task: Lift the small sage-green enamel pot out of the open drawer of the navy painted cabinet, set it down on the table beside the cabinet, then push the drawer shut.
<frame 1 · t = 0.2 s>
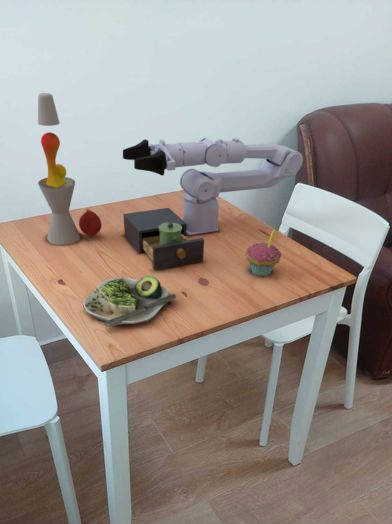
hand: (128, 159, 121), 21 cm above the table, tool horizontal, fingers open, 7 cm apart
cabinet: (155, 241, 134), on the table
cupcake: (260, 272, 123), on the table
drawer: (170, 245, 124), point 3 cm above the table, slide at 9.0 cm, touching pot
salad plate: (129, 304, 108), on the table
onion: (91, 237, 134), on the table
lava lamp: (64, 238, 133), on the table
pot: (170, 251, 126), point 2 cm above the table, touching drawer
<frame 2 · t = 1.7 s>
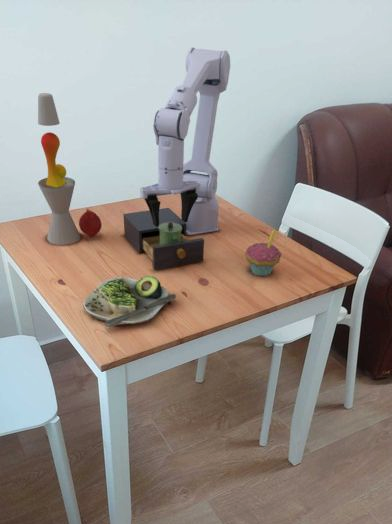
hand: (170, 222, 121), 9 cm above the table, tool pointing down, fingers open, 7 cm apart
nothing on the table moved.
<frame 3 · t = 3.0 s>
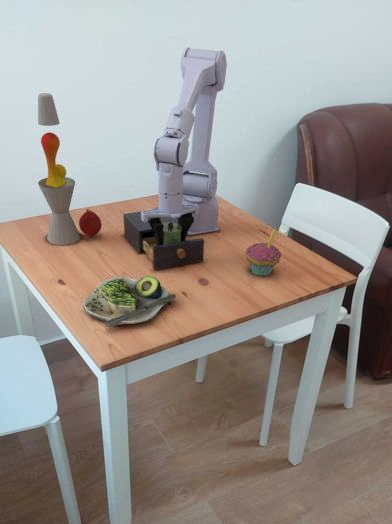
hand: (170, 244, 125), 4 cm above the table, tool pointing down, fingers closed on pot, 5 cm apart
pot: (170, 251, 126), point 2 cm above the table, touching drawer, gripper
everything else where it was.
when the fingers open (2 cm above the table, at t = 7.6 s): pot stays where it is, on the table.
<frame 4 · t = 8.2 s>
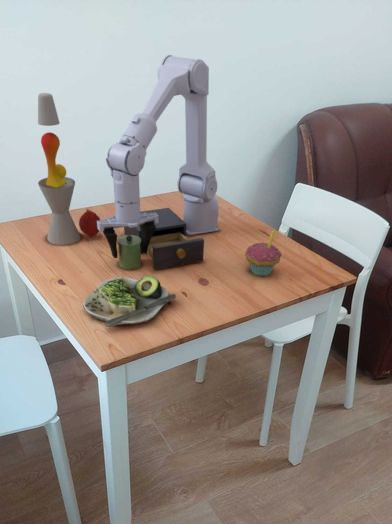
hand: (129, 253, 121), 3 cm above the table, tool pointing down, fingers open, 7 cm apart
drawer: (170, 245, 124), point 3 cm above the table, slide at 9.0 cm
pot: (130, 264, 123), on the table
everything else where it was.
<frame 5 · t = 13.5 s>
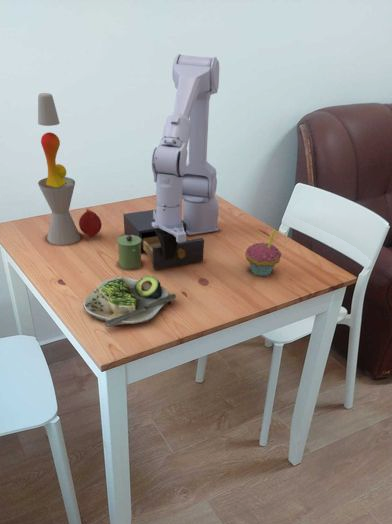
hand: (168, 258, 118), 4 cm above the table, tool pointing down, fingers closed
drawer: (170, 245, 124), point 3 cm above the table, slide at 9.0 cm, touching gripper
everything else where it was.
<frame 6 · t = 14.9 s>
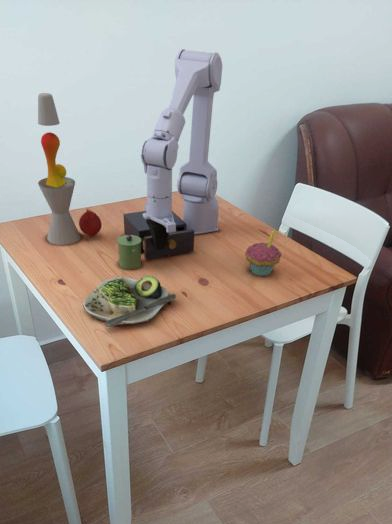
hand: (159, 248, 122), 4 cm above the table, tool pointing down, fingers closed
drawer: (162, 236, 128), point 3 cm above the table, slide at 3.4 cm, touching gripper
everything else where it was.
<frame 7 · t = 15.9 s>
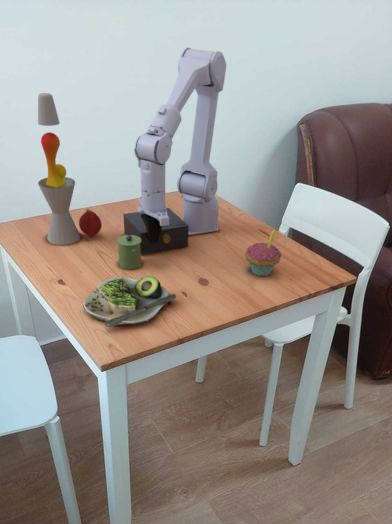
hand: (153, 242, 125), 4 cm above the table, tool pointing down, fingers closed
drawer: (157, 231, 131), point 3 cm above the table, slide at -0.1 cm, touching gripper
everything else where it was.
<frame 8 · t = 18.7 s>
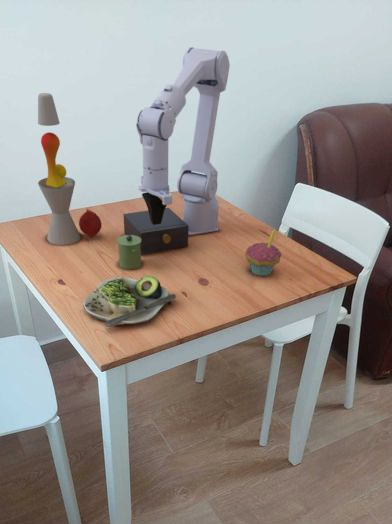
hand: (156, 223, 120), 9 cm above the table, tool pointing down, fingers closed
drawer: (157, 231, 131), point 3 cm above the table, slide at 0.0 cm
everything else where it was.
at the end: pot inside the target area (0.2 cm from its centre), on the table; pot tilted 0°; drawer slide at 0.0 cm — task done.
